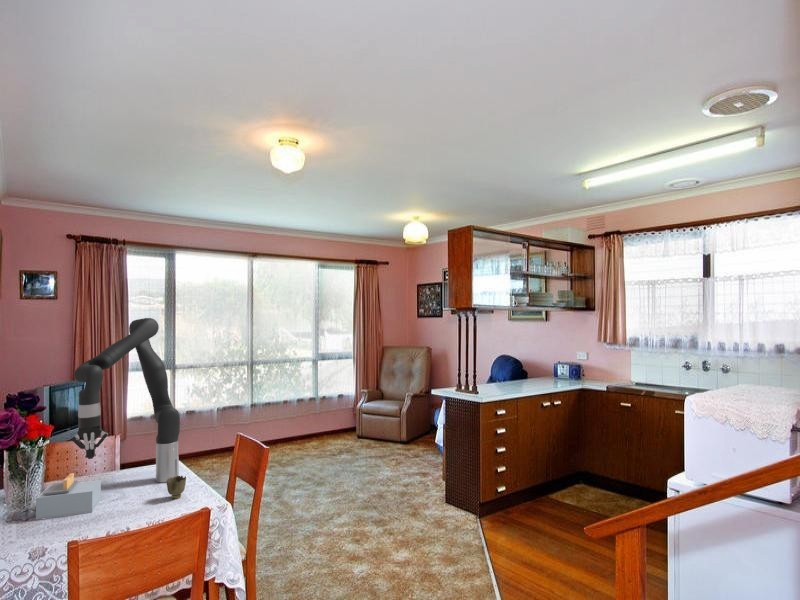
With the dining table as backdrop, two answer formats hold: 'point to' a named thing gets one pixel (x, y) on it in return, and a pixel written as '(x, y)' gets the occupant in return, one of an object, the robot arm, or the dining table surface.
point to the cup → (176, 486)
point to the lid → (62, 486)
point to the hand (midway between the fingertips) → (90, 458)
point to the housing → (69, 501)
